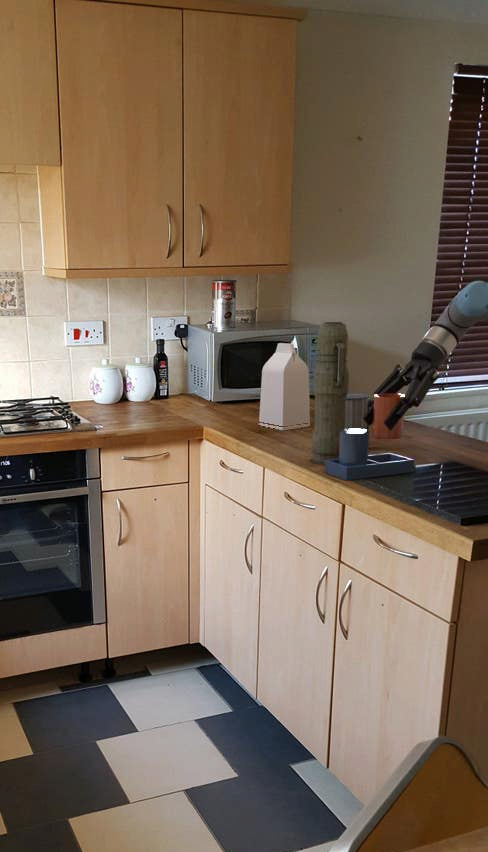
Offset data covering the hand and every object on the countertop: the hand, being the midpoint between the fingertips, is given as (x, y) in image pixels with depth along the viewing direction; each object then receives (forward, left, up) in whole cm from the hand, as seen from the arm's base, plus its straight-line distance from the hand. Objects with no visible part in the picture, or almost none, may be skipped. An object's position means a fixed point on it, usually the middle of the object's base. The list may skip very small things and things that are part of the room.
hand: (376, 423), depth 211 cm
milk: (+72, -15, -12) cm, 75 cm away
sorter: (0, +1, -12) cm, 12 cm away
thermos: (+17, +2, -12) cm, 21 cm away
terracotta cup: (0, -3, -4) cm, 5 cm away
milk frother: (+31, -14, -12) cm, 36 cm away
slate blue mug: (0, +6, -11) cm, 13 cm away
